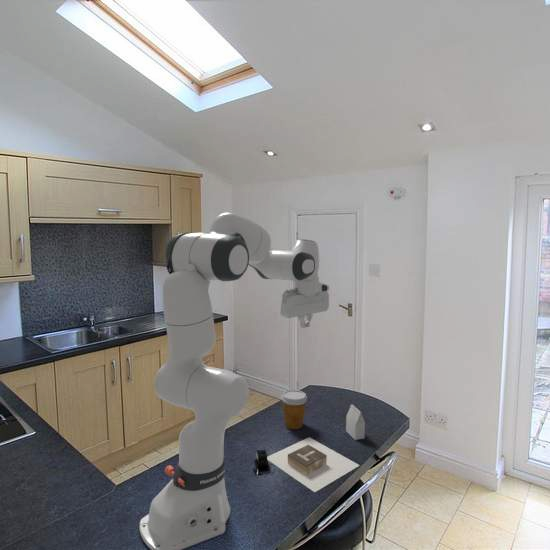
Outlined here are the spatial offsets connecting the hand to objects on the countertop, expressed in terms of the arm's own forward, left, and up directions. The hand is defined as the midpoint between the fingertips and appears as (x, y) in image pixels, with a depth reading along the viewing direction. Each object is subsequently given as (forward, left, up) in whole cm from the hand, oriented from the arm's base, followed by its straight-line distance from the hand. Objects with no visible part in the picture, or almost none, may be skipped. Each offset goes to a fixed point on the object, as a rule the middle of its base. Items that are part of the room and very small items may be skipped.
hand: (305, 327), depth 140 cm
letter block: (-8, -14, -37) cm, 41 cm away
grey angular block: (+14, -12, -39) cm, 43 cm away
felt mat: (-10, -14, -39) cm, 43 cm away
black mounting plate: (-23, -5, -40) cm, 46 cm away
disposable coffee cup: (+2, +7, -39) cm, 40 cm away
